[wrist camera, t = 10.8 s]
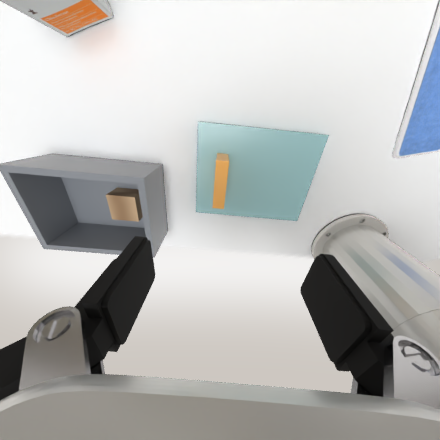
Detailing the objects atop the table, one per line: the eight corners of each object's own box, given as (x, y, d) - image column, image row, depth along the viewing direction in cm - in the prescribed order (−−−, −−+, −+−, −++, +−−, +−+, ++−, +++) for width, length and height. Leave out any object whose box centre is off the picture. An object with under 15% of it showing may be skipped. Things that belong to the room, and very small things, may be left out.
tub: (162, 164, 25) (143, 178, 19) (167, 231, 31) (154, 257, 25) (51, 153, 25) (-4, 164, 19) (78, 223, 31) (43, 248, 25)
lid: (323, 134, 23) (354, 138, 18) (294, 216, 30) (310, 238, 24) (199, 121, 23) (191, 121, 17) (197, 208, 29) (191, 228, 24)
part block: (143, 189, 27) (134, 197, 24) (146, 212, 29) (138, 221, 26) (117, 187, 26) (105, 194, 24) (122, 210, 28) (112, 219, 26)
